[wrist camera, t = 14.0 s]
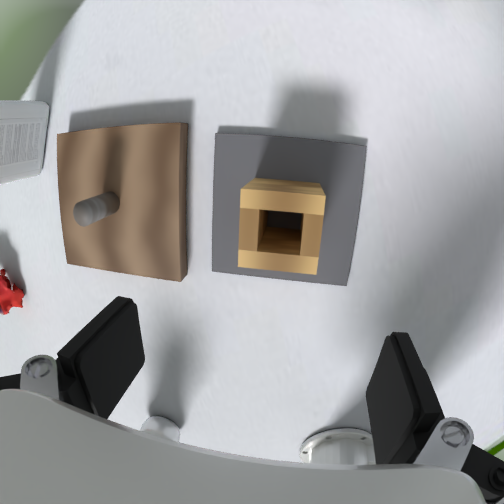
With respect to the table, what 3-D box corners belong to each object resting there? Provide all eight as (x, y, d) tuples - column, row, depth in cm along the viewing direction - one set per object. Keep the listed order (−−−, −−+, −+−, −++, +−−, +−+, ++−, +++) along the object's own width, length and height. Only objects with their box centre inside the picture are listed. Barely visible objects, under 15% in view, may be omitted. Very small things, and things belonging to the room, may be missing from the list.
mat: (365, 146, 26) (366, 146, 25) (345, 283, 31) (346, 286, 30) (217, 133, 28) (215, 133, 27) (213, 269, 33) (211, 271, 32)
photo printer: (34, 100, 29) (-38, 103, 17) (53, 100, 28) (-23, 100, 17) (26, 174, 32) (-43, 193, 21) (44, 178, 32) (-29, 199, 21)
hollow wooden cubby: (319, 183, 27) (325, 195, 21) (313, 244, 29) (316, 274, 23) (254, 177, 28) (240, 188, 21) (251, 239, 30) (237, 266, 24)
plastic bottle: (141, 409, 44) (90, 500, 25) (174, 412, 42) (127, 514, 24) (157, 432, 46) (115, 519, 27) (189, 435, 44) (152, 531, 26)
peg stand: (188, 123, 28) (156, 119, 21) (187, 274, 33) (161, 305, 27) (67, 133, 30) (26, 137, 23) (76, 257, 35) (42, 279, 29)
